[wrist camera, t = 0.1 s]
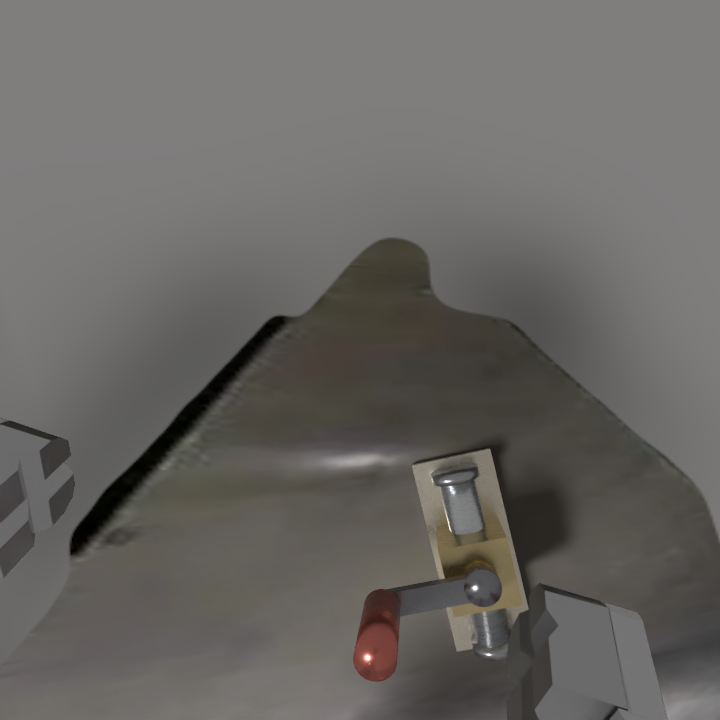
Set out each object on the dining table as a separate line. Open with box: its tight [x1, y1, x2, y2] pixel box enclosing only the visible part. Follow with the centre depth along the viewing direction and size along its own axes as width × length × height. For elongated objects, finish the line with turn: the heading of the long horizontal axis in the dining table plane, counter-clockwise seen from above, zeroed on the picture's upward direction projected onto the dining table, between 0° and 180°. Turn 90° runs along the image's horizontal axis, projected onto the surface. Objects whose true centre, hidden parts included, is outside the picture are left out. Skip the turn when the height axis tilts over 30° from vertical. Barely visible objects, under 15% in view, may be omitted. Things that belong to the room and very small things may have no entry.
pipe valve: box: [412, 447, 529, 660], centre depth 59 cm, size 22×9×9 cm, turn 14°
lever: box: [353, 565, 502, 682], centre depth 49 cm, size 14×4×10 cm, turn 104°
